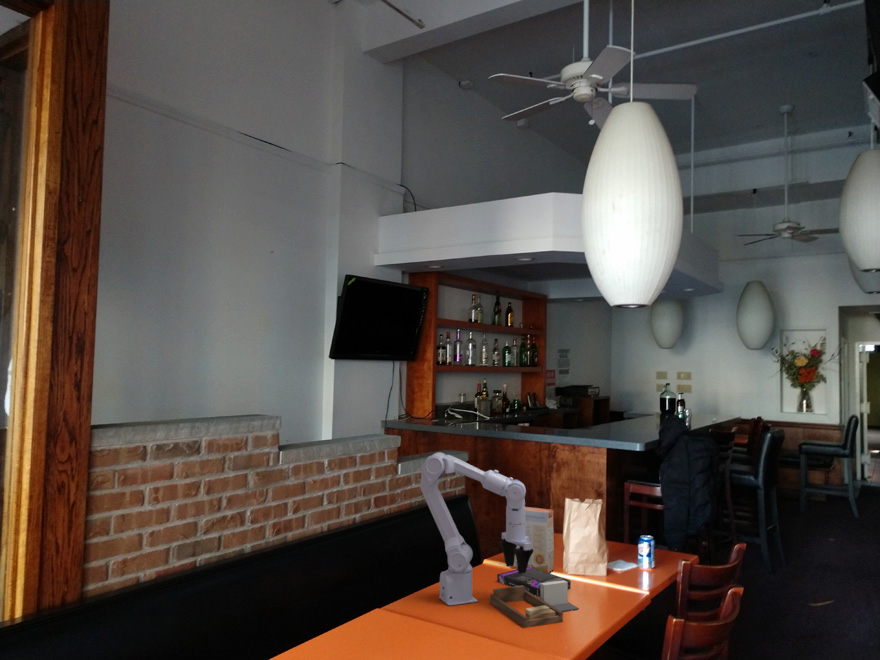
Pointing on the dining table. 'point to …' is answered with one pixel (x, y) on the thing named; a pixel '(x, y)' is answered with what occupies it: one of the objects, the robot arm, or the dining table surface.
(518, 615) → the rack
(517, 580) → the box
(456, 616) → the dining table surface
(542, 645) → the dining table surface
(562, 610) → the mat
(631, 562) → the dining table surface
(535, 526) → the cracker box
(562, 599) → the light grey block
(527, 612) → the offcuts
